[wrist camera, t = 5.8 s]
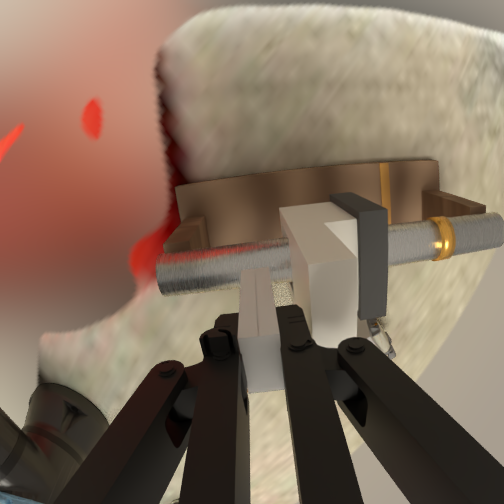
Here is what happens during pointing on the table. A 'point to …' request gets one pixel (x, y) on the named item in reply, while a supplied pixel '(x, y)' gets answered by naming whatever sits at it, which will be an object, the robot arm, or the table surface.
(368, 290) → the dark gray nut plate
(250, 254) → the steel pipe
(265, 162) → the table surface
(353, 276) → the white u-shaped bracket
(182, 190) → the pipe stand
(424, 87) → the table surface
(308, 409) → the robot arm
